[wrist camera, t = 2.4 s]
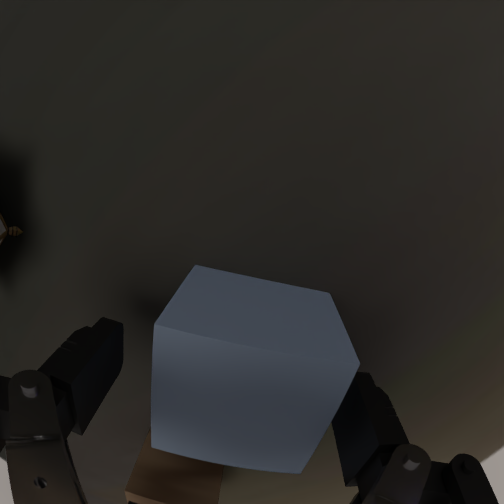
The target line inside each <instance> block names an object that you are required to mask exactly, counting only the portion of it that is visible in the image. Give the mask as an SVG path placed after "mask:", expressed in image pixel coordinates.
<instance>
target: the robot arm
mask: <svg viewBox="0 0 504 504" xmlns="http://www.w3.org/2000/svg"><path fill="white" fill-rule="evenodd" d="M123 330H124V329H123V324H122V323H120V322H117V321H114V320H111V319H107V318H104V317H102V318H100V319H99V320H98V322H97V323H96V324H95V325H94V326H93V327H92V328H91V327H88V326H85V327H83V328H81V329H79V330H77V331H75V332H74V333H73V334H72V335H71V336H70V337H69V338H68V339H67V341H65V342H64V343H63V344H62V345H61V347H60V348H58V349H57V350H56V351H55V352H54V353H53V354H52V355H51V356H50V357H49V358H48V359H47V361H46V362H45V363H44V364H43V365H42V366H41V367H40V368H39V369H38V370H37V371H36V370H24V371H21V372H18V373H16V374H15V375H14V376H13V377H12V378H8V377H4V376H0V452H1V451H2V449H3V448H4V446H5V449H6V458H7V465H8V473H9V479H10V484H11V490H12V496H13V501H14V504H88V502H87V500H86V497H85V495H84V492H83V490H82V487H81V485H80V482H79V479H78V476H77V472H76V469H75V466H74V463H73V459H72V456H71V452H70V449H69V445H68V441H67V437H68V435H69V434H70V432H71V431H73V432H75V433H77V434H79V435H83V433H84V431H85V430H86V428H87V426H88V425H89V423H90V421H91V420H92V418H93V416H94V414H95V413H96V411H97V409H98V408H99V406H100V404H101V403H102V401H103V399H104V398H105V396H106V394H107V393H108V391H109V390H110V388H111V386H112V385H113V383H114V381H115V380H116V378H117V377H118V375H119V373H120V371H121V368H122V364H123ZM396 415H397V414H396V412H395V410H394V408H393V405H392V403H391V401H390V399H389V397H388V395H387V394H386V393H385V392H384V391H383V390H382V389H381V388H380V387H376V386H375V383H374V381H373V379H372V377H371V375H370V373H365V372H356V374H355V376H354V378H353V380H352V382H351V384H350V386H349V388H348V390H347V392H346V394H345V396H344V398H343V400H342V402H341V404H340V406H339V408H338V410H337V412H336V414H335V416H334V417H333V419H332V421H331V422H332V426H333V430H334V435H335V439H336V444H337V449H338V453H339V458H340V463H341V467H342V472H343V477H344V482H345V487H348V486H358V489H359V492H358V493H357V494H356V495H355V496H354V498H353V499H352V501H351V502H350V504H499V503H498V501H497V499H496V496H495V494H494V492H493V490H492V487H491V485H490V483H489V481H488V479H487V477H486V474H485V473H484V470H483V468H482V466H481V464H480V463H479V461H478V460H477V459H476V458H474V457H473V456H471V455H468V454H458V455H456V456H455V457H454V458H453V459H452V460H451V461H450V463H449V464H448V463H441V462H435V461H431V459H430V457H429V455H428V454H427V453H426V451H424V450H423V449H422V448H420V447H418V446H416V445H413V444H410V443H409V441H408V439H407V436H406V434H405V432H404V430H403V427H402V425H401V423H400V421H399V418H398V416H396ZM128 504H138V503H135V502H132V501H129V502H128Z"/></svg>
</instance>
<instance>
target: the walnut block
mask: <svg viewBox="0 0 504 504" xmlns="http://www.w3.org/2000/svg"><path fill="white" fill-rule="evenodd" d="M223 467H224V465H223V464H218V463H213V462H208V461H203V460H198V459H194V458H190V457H186V456H182V455H178V454H174V453H170V452H166V451H163V450H159V449H156V448H152V447H151V427H150V430H149V432H148V435H147V437H146V439H145V442H144V444H143V447H142V449H141V452H140V454H139V456H138V459H137V461H136V464H135V466H134V469H133V471H132V474H131V476H130V479H129V481H128V484H127V486H126V489H125V494H126V498H127V502H129V501H132V502H135V503H138V504H218V500H219V493H220V487H221V480H222V474H223Z"/></svg>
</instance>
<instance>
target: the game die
mask: <svg viewBox="0 0 504 504" xmlns="http://www.w3.org/2000/svg"><path fill="white" fill-rule="evenodd" d="M22 232H23V231H21V230H20V229H19V228H18V227H17V226H16V227H13V226H12V227H7V225H6V223H5V221H4V219H3V217H2V215H1V213H0V245H1V244H2V242H3V240H4V239H5V237H6V235H7V234H9V235H11V236H15V237H17V235H19V234H21V233H22Z"/></svg>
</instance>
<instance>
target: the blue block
mask: <svg viewBox="0 0 504 504" xmlns="http://www.w3.org/2000/svg"><path fill="white" fill-rule="evenodd" d="M359 365H360V362H359V360H358V357H357V355H356V353H355V350H354V348H353V345H352V343H351V341H350V338H349V336H348V334H347V331H346V329H345V327H344V324H343V322H342V320H341V318H340V315H339V313H338V311H337V308H336V306H335V304H334V302H333V300H332V297H331V295H330V293H327V292H322V291H317V290H312V289H307V288H302V287H297V286H292V285H288V284H283V283H278V282H273V281H268V280H264V279H259V278H254V277H249V276H245V275H240V274H235V273H231V272H226V271H222V270H217V269H212V268H208V267H203V266H199V265H195V266H194V267H193V269H192V270H191V271H190V273H189V274H188V276H187V277H186V279H185V280H184V281H183V283H182V284H181V286H180V287H179V289H178V290H177V291H176V293H175V294H174V296H173V297H172V299H171V300H170V302H169V303H168V304H167V306H166V307H165V309H164V310H163V312H162V313H161V315H160V316H159V318H158V319H157V321H156V322H155V324H154V335H153V353H152V379H151V447H152V448H156V449H159V450H163V451H166V452H170V453H174V454H178V455H182V456H186V457H190V458H194V459H198V460H203V461H208V462H213V463H218V464H223V465H229V466H234V467H241V468H247V469H254V470H262V471H271V472H281V473H293V474H301V472H302V470H303V469H304V467H305V466H306V464H307V462H308V461H309V459H310V458H311V456H312V454H313V453H314V451H315V449H316V448H317V446H318V444H319V442H320V441H321V439H322V437H323V436H324V434H325V432H326V430H327V428H328V427H329V425H330V423H331V421H332V419H333V417H334V416H335V414H336V412H337V410H338V408H339V406H340V404H341V402H342V400H343V398H344V396H345V394H346V392H347V390H348V388H349V386H350V384H351V382H352V380H353V378H354V376H355V374H356V372H357V370H358V367H359Z"/></svg>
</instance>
